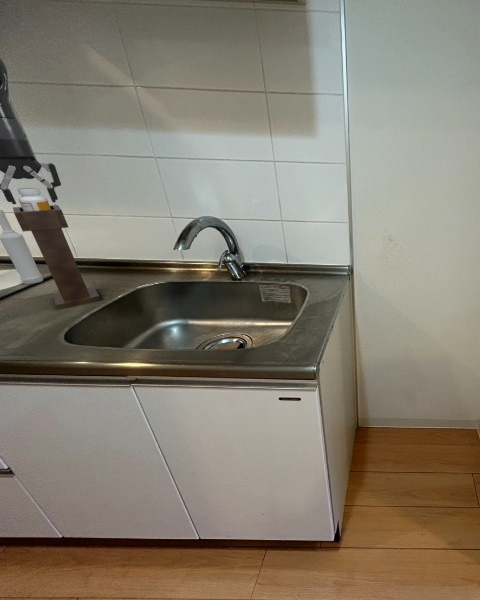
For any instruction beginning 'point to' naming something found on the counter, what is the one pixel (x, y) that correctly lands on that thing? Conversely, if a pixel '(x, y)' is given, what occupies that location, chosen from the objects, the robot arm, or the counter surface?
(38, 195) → the supplement bottle
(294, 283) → the counter surface
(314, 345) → the counter surface
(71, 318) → the counter surface
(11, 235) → the bottle
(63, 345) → the counter surface
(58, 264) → the holder
